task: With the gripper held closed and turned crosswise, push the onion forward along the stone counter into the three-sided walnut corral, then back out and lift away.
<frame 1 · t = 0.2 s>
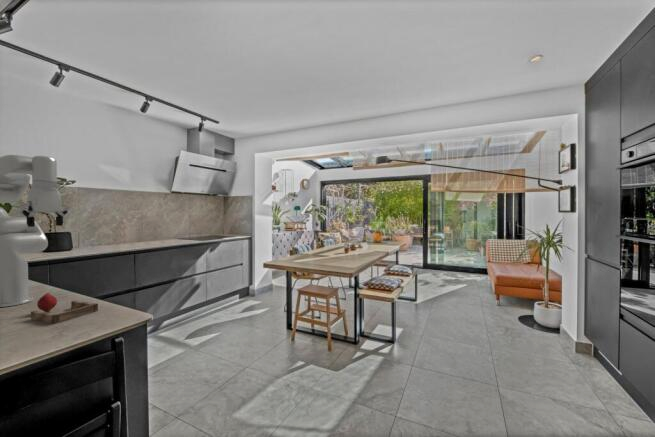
hand: (45, 226, 123), 36 cm above the countertop, tool pointing down, fingers open, 9 cm apart
onion: (47, 312, 120), on the countertop
corral: (65, 314, 116), on the countertop
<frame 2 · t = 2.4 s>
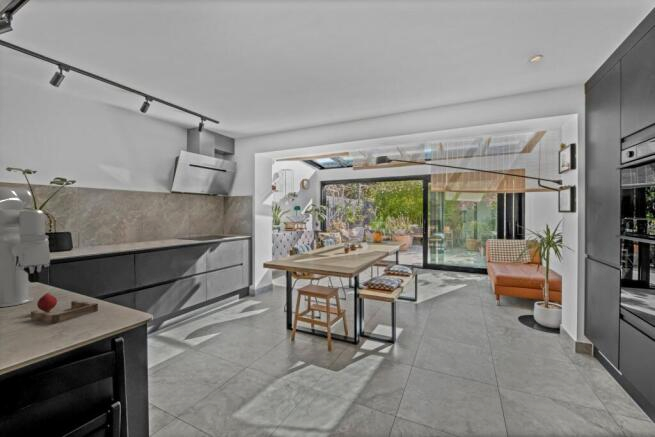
hand: (33, 282, 122), 12 cm above the countertop, tool pointing down, fingers closed
nothing on the countertop moved.
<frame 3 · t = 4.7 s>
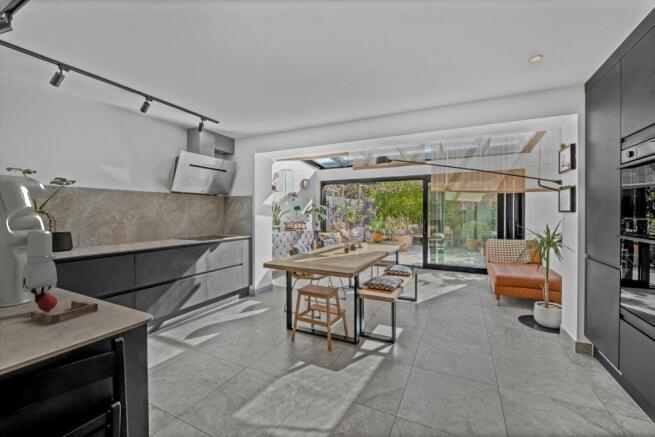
hand: (40, 303, 121), 3 cm above the countertop, tool pointing down, fingers closed
onion: (47, 312, 120), on the countertop, touching gripper
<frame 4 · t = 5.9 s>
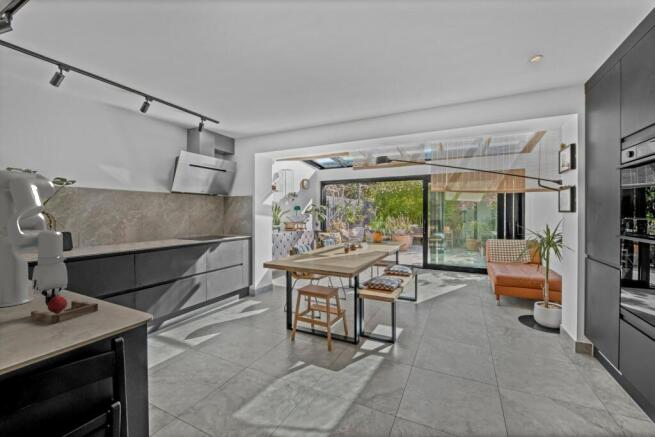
hand: (51, 305, 119), 3 cm above the countertop, tool pointing down, fingers closed
onion: (57, 314, 117), on the countertop, touching gripper
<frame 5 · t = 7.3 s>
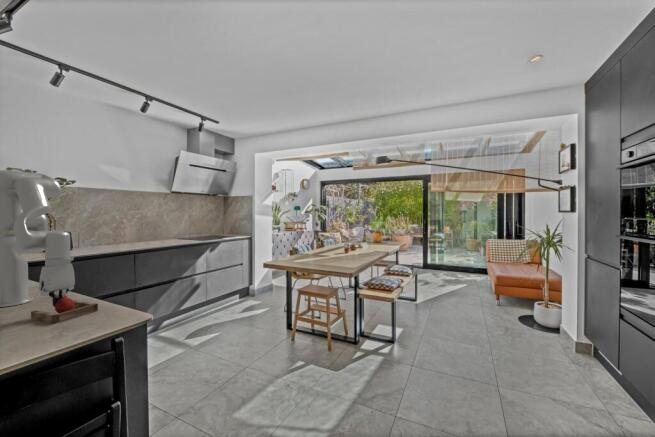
hand: (58, 306, 118), 3 cm above the countertop, tool pointing down, fingers closed
onion: (64, 315, 116), on the countertop, touching gripper
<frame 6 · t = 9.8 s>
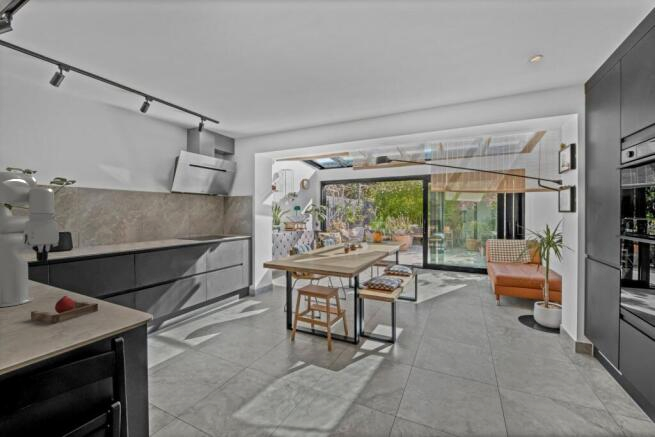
hand: (42, 261, 120), 21 cm above the countertop, tool pointing down, fingers closed
onion: (65, 315, 116), on the countertop
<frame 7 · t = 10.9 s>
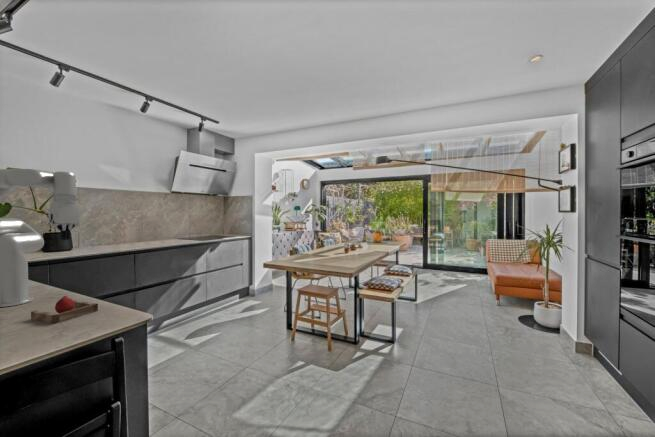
hand: (65, 239, 131), 29 cm above the countertop, tool pointing down, fingers closed
nothing on the countertop moved.
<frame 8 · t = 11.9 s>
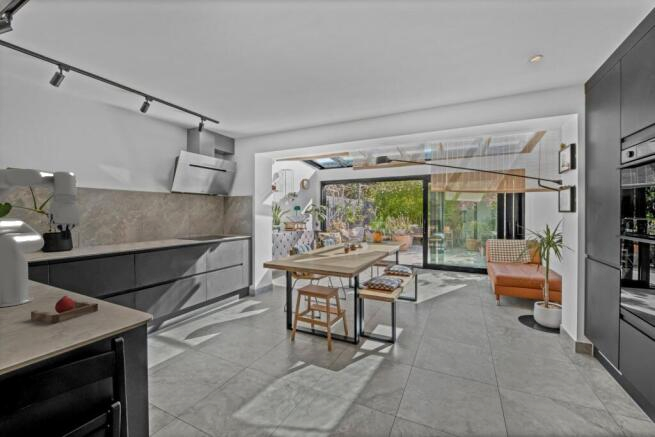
hand: (65, 239, 131), 29 cm above the countertop, tool pointing down, fingers closed
nothing on the countertop moved.
at the end: onion inside the target area on the corral (0.3 cm from its centre), point 0.0 cm above the corral's base; onion moved 11.4 cm from its start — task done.
